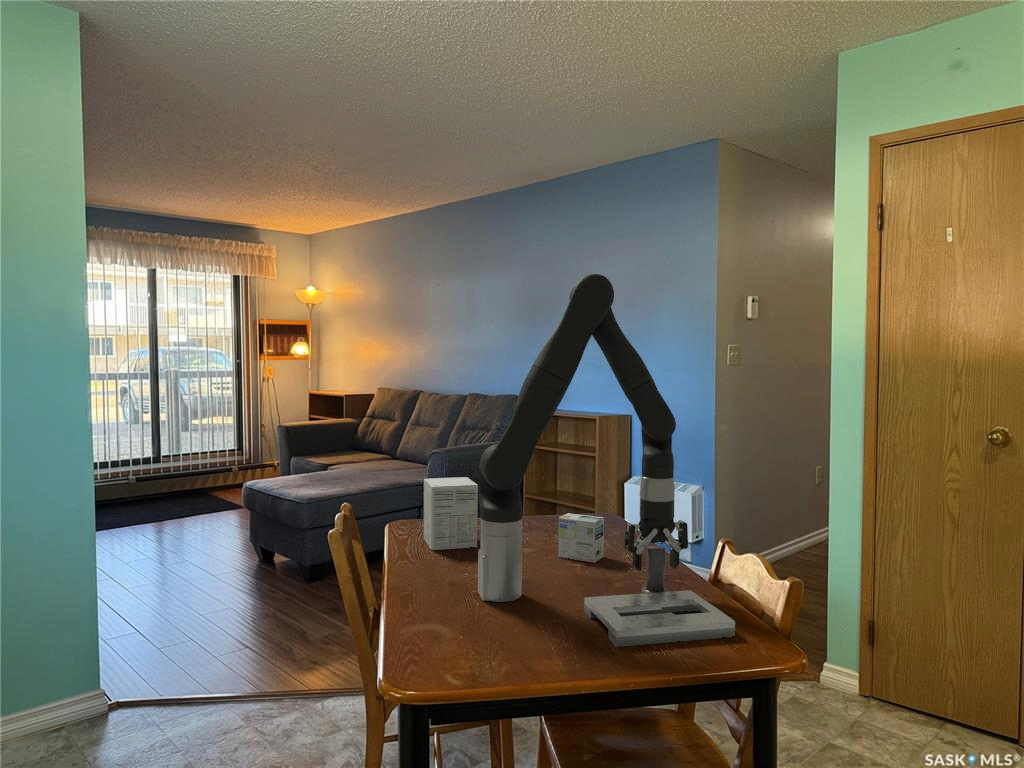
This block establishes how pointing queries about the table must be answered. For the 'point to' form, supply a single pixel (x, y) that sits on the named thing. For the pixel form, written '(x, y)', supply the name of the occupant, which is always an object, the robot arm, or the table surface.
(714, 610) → the keyhole plate
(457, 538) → the supplement box
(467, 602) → the table surface
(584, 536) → the light bulb box
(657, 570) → the headed peg
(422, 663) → the table surface
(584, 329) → the robot arm
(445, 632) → the table surface
